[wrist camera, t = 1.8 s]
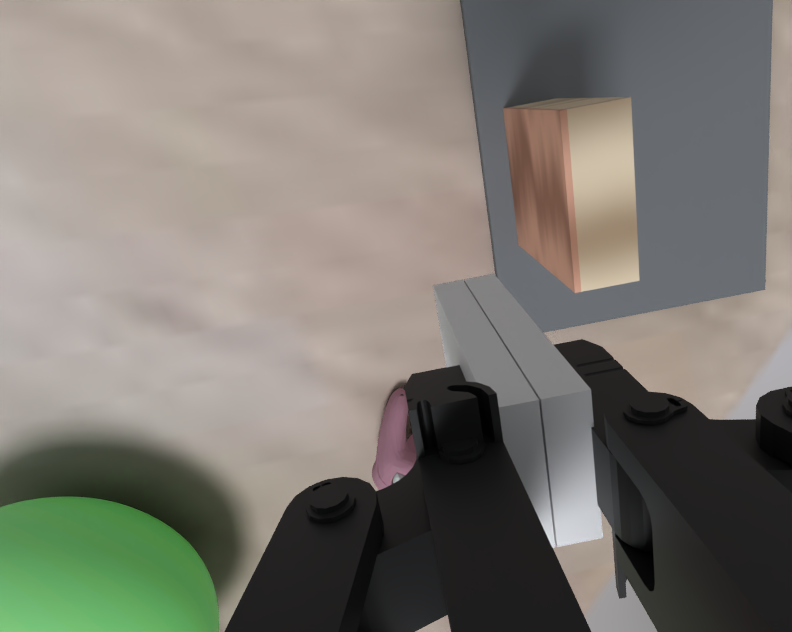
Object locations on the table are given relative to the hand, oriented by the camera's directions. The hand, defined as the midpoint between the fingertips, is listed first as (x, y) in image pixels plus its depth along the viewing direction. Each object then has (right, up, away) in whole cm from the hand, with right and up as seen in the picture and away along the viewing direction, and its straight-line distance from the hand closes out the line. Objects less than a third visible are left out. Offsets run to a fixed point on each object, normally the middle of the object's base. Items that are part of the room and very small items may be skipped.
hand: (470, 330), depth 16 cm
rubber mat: (+12, +10, +21) cm, 26 cm away
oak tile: (+6, +9, +21) cm, 23 cm away
